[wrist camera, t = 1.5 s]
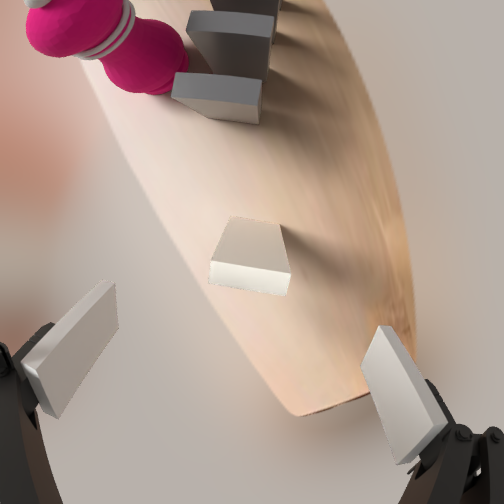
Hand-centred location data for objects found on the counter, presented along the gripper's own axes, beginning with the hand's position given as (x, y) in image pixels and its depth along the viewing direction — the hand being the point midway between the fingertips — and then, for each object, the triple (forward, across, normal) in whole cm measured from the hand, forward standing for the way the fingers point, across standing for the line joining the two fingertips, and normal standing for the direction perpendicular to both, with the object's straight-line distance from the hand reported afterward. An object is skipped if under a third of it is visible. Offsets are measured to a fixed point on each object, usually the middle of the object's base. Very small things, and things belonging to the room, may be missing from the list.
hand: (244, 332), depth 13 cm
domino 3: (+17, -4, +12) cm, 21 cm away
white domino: (+17, 0, 0) cm, 17 cm away
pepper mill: (+17, -12, +16) cm, 27 cm away
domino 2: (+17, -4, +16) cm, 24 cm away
